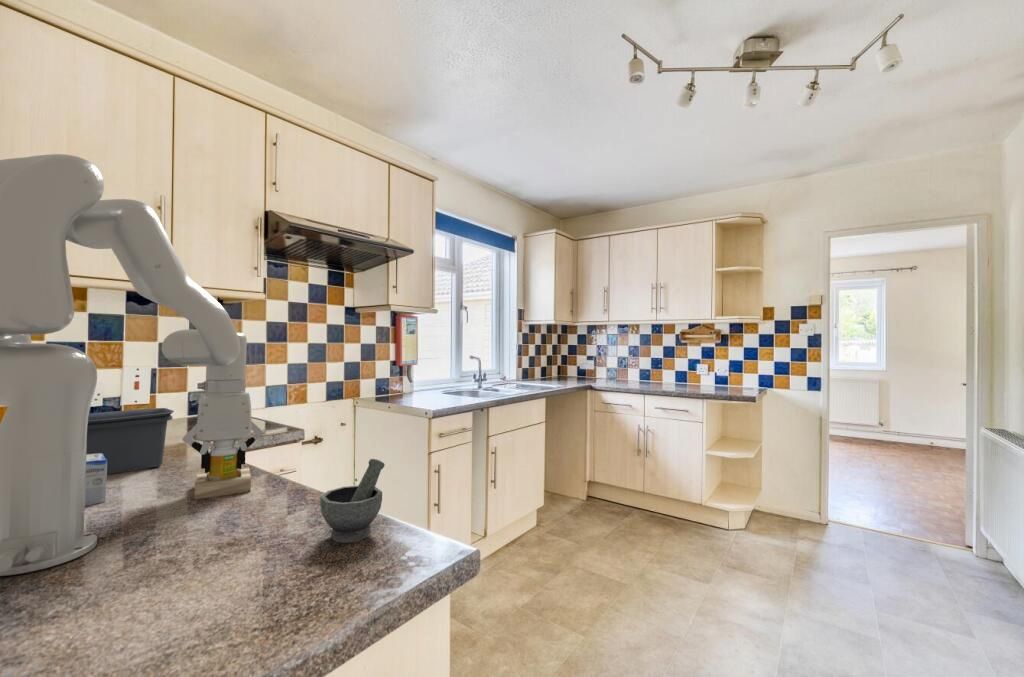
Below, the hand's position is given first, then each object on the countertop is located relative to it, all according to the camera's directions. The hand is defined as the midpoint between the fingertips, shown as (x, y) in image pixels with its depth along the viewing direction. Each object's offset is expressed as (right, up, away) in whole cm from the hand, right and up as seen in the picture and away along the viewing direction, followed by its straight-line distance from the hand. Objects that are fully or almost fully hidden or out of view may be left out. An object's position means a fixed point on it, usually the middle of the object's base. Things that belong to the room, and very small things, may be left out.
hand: (223, 468), depth 100 cm
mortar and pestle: (+37, -5, -23) cm, 44 cm away
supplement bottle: (0, -3, 0) cm, 3 cm away
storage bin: (-36, -4, +14) cm, 39 cm away
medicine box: (-22, -4, -8) cm, 24 cm away
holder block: (0, -4, 0) cm, 4 cm away
